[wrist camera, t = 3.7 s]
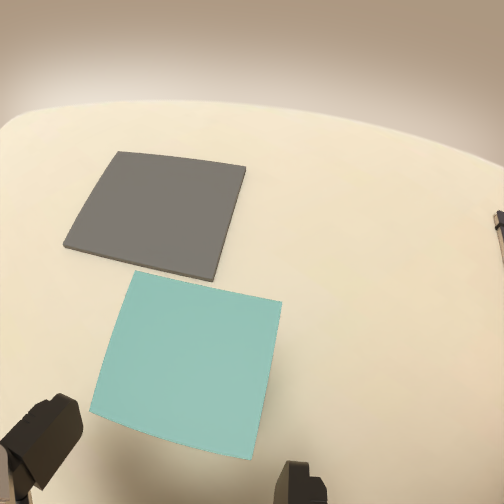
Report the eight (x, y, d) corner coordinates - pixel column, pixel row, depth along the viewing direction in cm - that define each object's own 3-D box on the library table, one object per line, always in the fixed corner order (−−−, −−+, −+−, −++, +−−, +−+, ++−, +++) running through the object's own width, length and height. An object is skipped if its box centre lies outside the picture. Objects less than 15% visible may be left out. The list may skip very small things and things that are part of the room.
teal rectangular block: (258, 366, 20) (282, 302, 10) (243, 436, 17) (251, 460, 7) (186, 350, 20) (135, 270, 10) (169, 418, 18) (89, 411, 7)
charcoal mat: (245, 170, 29) (246, 166, 29) (212, 282, 23) (212, 279, 23) (119, 154, 30) (117, 151, 30) (64, 247, 24) (62, 244, 23)
